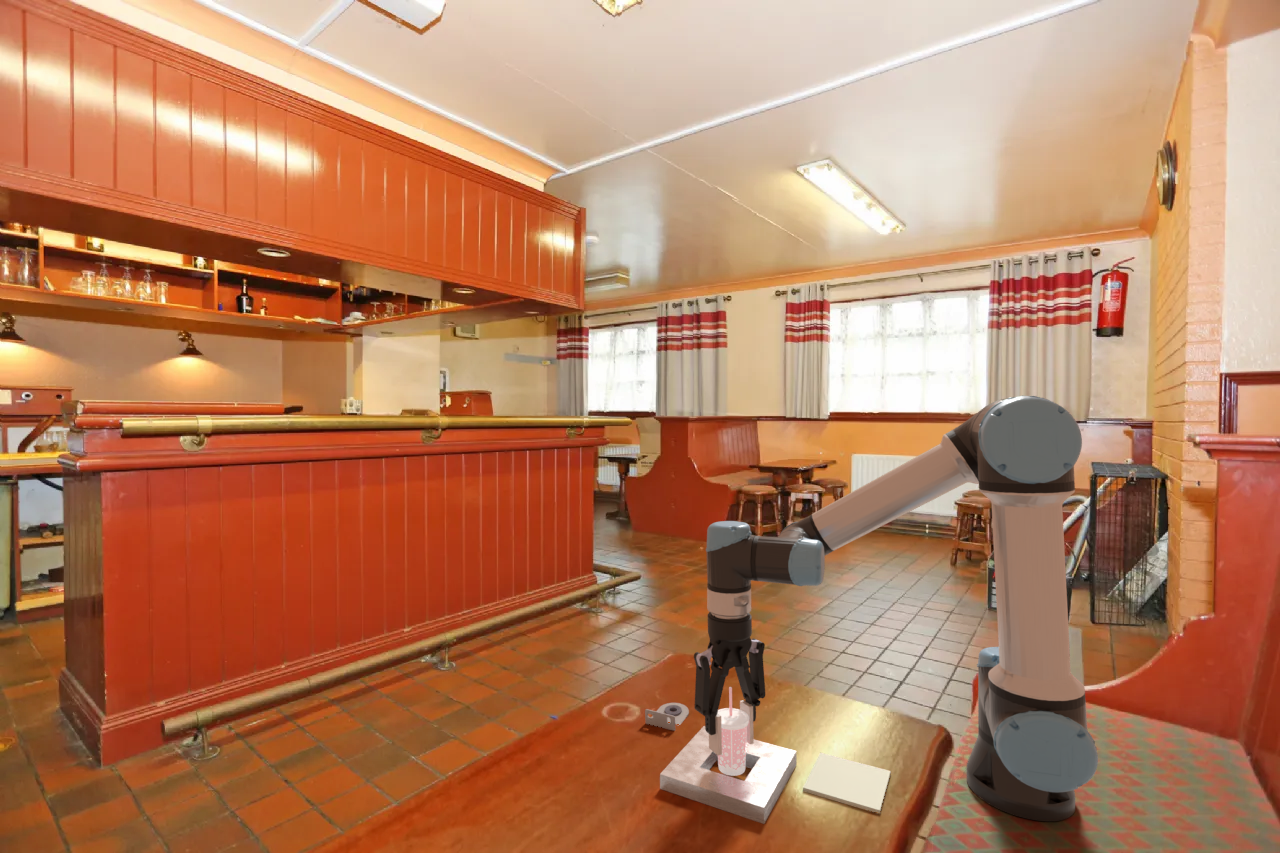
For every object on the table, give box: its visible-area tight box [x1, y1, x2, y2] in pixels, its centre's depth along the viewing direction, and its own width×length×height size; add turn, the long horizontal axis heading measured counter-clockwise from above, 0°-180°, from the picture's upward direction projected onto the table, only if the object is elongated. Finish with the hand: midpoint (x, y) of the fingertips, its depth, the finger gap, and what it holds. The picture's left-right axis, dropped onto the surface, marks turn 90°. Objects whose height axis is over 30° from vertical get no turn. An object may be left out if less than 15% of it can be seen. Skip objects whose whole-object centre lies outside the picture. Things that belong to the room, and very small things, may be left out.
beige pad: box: [802, 752, 891, 814], centre depth 102 cm, size 12×12×1 cm
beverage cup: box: [717, 686, 749, 777], centre depth 104 cm, size 6×6×14 cm
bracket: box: [644, 702, 690, 732], centre depth 126 cm, size 7×10×4 cm, turn 153°
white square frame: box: [659, 725, 798, 825], centre depth 104 cm, size 18×18×2 cm
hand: (731, 745), depth 104 cm, fingers closed on beverage cup, 6 cm apart
